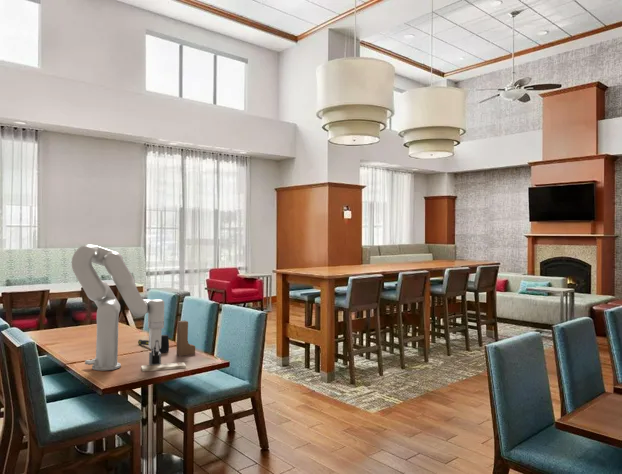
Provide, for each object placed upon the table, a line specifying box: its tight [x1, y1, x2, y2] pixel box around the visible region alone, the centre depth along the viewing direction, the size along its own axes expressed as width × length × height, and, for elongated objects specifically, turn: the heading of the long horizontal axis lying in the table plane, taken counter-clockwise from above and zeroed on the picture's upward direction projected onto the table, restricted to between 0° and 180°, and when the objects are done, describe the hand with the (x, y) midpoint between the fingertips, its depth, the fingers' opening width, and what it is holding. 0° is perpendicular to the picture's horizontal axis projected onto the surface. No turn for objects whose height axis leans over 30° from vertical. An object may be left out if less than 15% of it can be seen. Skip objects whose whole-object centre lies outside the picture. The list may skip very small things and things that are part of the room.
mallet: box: [137, 334, 170, 354], centre depth 273 cm, size 29×6×10 cm, turn 47°
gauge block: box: [148, 351, 162, 365], centre depth 237 cm, size 5×4×6 cm
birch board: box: [140, 362, 187, 372], centre depth 233 cm, size 20×6×1 cm, turn 115°
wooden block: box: [176, 320, 196, 357], centre depth 262 cm, size 9×4×18 cm, turn 127°
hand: (155, 361), depth 237 cm, fingers closed on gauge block, 4 cm apart
